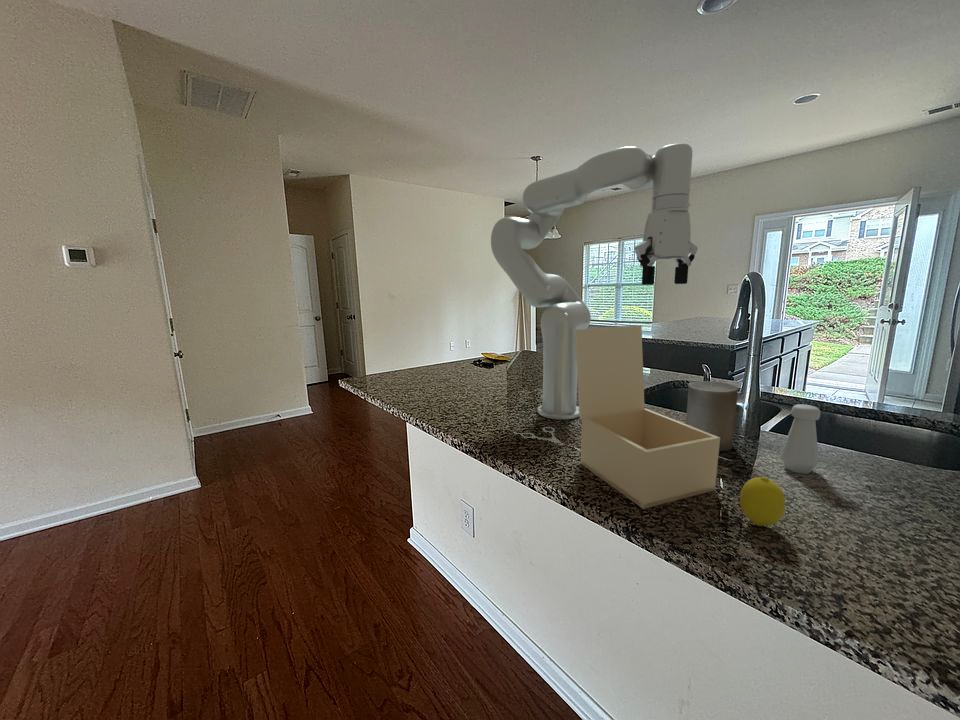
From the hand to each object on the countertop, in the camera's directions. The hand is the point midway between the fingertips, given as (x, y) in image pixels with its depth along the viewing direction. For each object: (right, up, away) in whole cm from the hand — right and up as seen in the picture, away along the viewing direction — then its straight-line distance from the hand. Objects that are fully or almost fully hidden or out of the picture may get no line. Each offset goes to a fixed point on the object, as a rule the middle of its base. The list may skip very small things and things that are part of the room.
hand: (664, 284), depth 91 cm
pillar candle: (+10, -37, 0) cm, 38 cm away
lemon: (0, -43, -31) cm, 53 cm away
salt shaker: (+20, -39, -14) cm, 46 cm away
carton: (-11, -40, -15) cm, 44 cm away
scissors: (-25, -38, +2) cm, 45 cm away
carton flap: (-15, -20, -9) cm, 27 cm away
